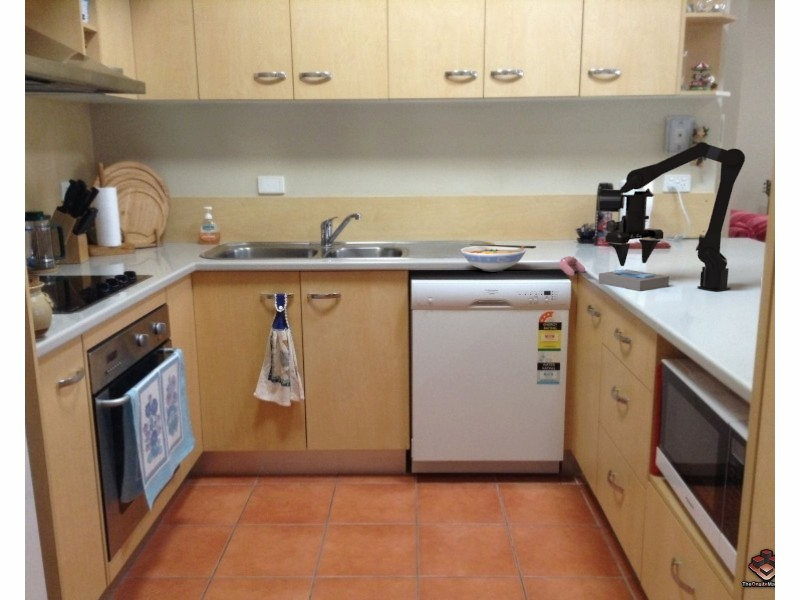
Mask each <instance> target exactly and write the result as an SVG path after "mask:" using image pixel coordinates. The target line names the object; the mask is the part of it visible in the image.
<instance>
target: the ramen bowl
mask: <svg viewBox="0 0 800 600" xmlns="http://www.w3.org/2000/svg"><path fill="white" fill-rule="evenodd" d="M536 248H537V246H536V245H514V244H513V245H511V244H506V245H504V244H498V245H497V244H478V245H475V244H473V243H471V244H469V246H466V247H463V248H461V249H460V252H461V253H462V255H463V256H464V258H465V259H466V261H467V262H468V263H469V265H471V266H473V267H475V268H478V269H481V270H482V271H484V272H491V273H494V272H503V271H505V270H506V269H509V268H511V267H513V266H514V265H516V264H517V263H519V262H520V261H521V260H522V258H523V257H524V255H525V254H526V251H527V249H536Z"/></svg>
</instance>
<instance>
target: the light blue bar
mask: <svg viewBox="0 0 800 600" xmlns="http://www.w3.org/2000/svg"><path fill="white" fill-rule="evenodd" d="M613 273H618V274H621V275H623V276H628V277H634V278H649V277H654V275H653V274H654V273H651V274H647V273H648V272H644V271H638V270H633V269H627V270H626V269H624V268H623V269H616V270H613Z"/></svg>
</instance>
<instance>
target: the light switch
mask: <svg viewBox="0 0 800 600" xmlns="http://www.w3.org/2000/svg"><path fill="white" fill-rule="evenodd" d="M625 270H628V269H625ZM613 271H614V270H613ZM613 271H606V272H599V273H598V284H603V285H607V286H613V287H617V288H618V287H619V288H622V289H623V288H624V289H627V290H632V291H638V292H643V291H649V290H655V289H662V288H667V287H668V288H669V284H670V283H669V282H670V280H669V279H670V276H669V275H664V274H663V275H662V274H655V273H650V272H646V273H647V274H653V275H654V277H649V278H634V277H628V276H623V275H621V274H618V273H613ZM661 287H662V288H661Z"/></svg>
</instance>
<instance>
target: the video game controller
mask: <svg viewBox="0 0 800 600" xmlns="http://www.w3.org/2000/svg"><path fill="white" fill-rule="evenodd" d="M558 266H559V268H560V270H561V271H563V272H564V273H565V275H567V276H569V277H574V276H575V272H576V271H577V272H580V273H585V271H586V268H585V266H584V265H583V264H582V263H580V262H579V261H578V259H577V258H576V257H575V256H570V255H568V256H564V257H562V258H561V259H560V260H559V262H558Z"/></svg>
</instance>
